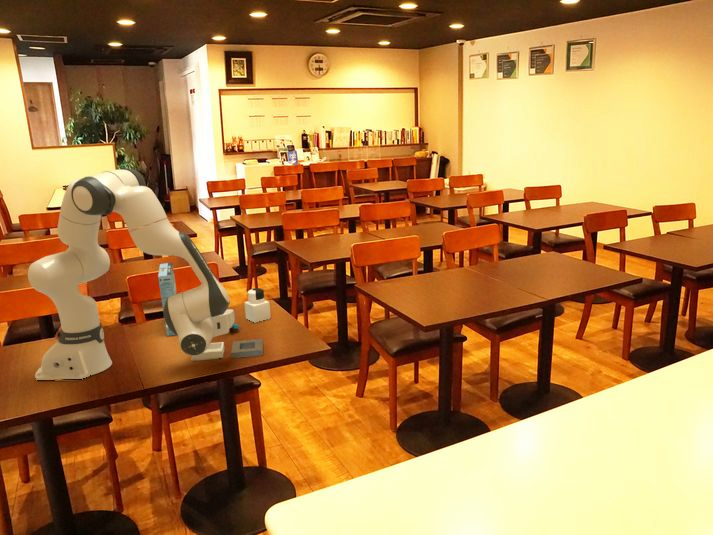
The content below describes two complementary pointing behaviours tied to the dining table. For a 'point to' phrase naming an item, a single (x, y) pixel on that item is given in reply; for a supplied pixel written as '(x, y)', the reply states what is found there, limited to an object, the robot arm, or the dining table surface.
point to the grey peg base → (240, 346)
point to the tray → (211, 352)
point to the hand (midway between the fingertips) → (204, 311)
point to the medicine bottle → (257, 306)
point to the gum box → (166, 286)
